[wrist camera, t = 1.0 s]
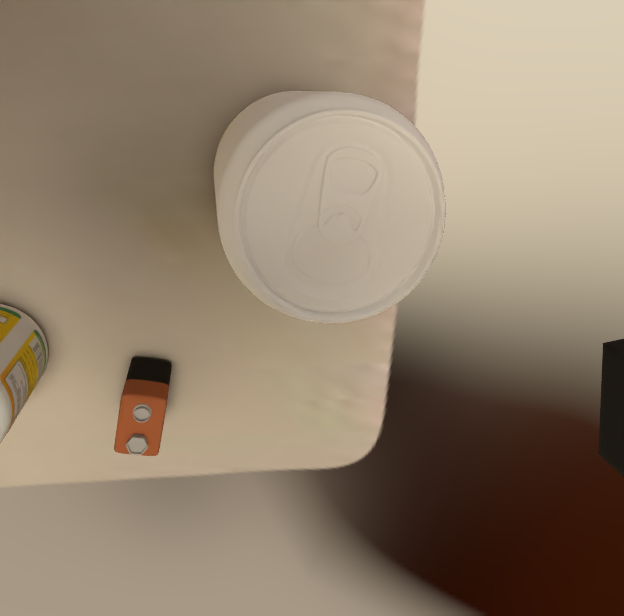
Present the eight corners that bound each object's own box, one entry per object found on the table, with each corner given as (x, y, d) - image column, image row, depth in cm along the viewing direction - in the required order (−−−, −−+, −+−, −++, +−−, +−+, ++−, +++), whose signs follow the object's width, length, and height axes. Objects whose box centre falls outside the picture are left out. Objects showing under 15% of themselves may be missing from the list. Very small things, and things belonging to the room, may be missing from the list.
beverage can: (200, 233, 31) (196, 316, 20) (231, 71, 28) (246, 60, 17) (346, 263, 33) (419, 353, 22) (387, 113, 30) (492, 127, 19)
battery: (124, 408, 33) (111, 459, 29) (132, 354, 32) (119, 398, 28) (163, 412, 34) (157, 463, 29) (172, 359, 33) (167, 404, 28)
